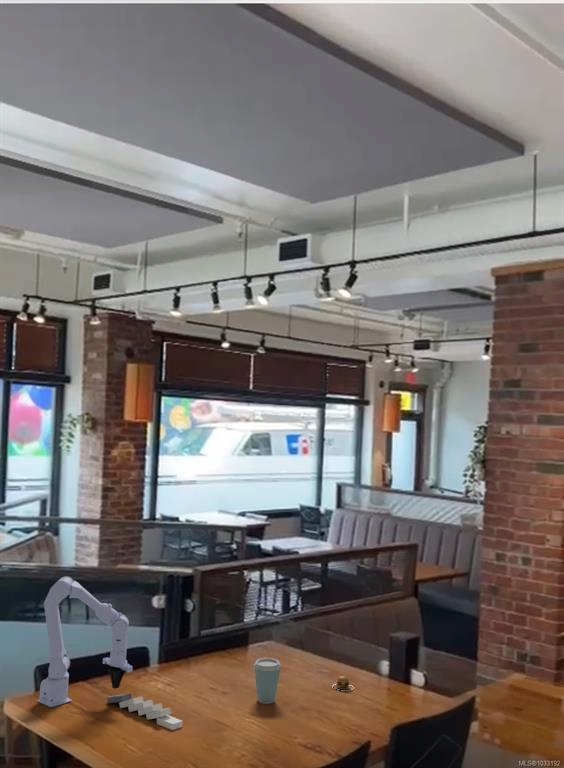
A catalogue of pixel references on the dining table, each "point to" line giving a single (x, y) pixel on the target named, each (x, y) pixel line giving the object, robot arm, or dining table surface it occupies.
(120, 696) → the tile
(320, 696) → the dining table surface
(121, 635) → the robot arm
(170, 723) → the tile
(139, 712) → the tile
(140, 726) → the dining table surface
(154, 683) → the dining table surface
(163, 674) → the dining table surface
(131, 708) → the tile
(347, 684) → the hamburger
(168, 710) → the tile
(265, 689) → the disposable coffee cup
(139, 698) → the tile
